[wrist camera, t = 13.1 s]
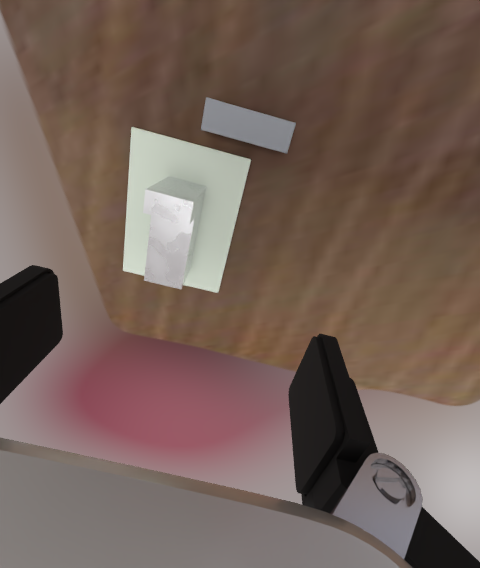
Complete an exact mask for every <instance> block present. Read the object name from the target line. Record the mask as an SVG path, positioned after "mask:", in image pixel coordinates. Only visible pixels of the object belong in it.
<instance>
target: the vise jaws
mask: <svg viewBox="0 0 480 568" xmlns="http://www.w3.org/2000/svg"><path fill="white" fill-rule="evenodd" d="M295 125H296V123H294V122H290V121H287V120H283V119H280V118H276V117H273V116H270V115H266V114H263V113H259V112H256V111H252V110H249V109H245V108H242V107H238V106H235V105H231V104H228V103H225V102H221V101H218V100H214V99H211V98H207V97H206V101H205V108H204V114H203V120H202V126H201V130H204V131H208V132H211V133H215V134H219V135H222V136H226V137H229V138H233V139H237V140H240V141H244V142H247V143H251V144H254V145H258V146H262V147H265V148H269V149H272V150H276V151H279V152H283V153H287V152H288V148H289V145H290V142H291V138H292V135H293V131H294V128H295Z"/></svg>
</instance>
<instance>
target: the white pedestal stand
mask: <svg viewBox="0 0 480 568" xmlns="http://www.w3.org/2000/svg"><path fill="white" fill-rule="evenodd" d="M205 191H206V186H203V185H200V184H196V183H192V182H189V181H185V180H181V179H178V178H174V177H170V176H168V177H166V178H165V179H163V180H161V181H159V182H157V183H156V184H154V185H152V186H150V187H148V188H147V189H145V197H144V208H143V213H145V214H149V215H151V221H150V230H149V239H148V248H147V257H146V266H145V276H144V281H149V282H153V283H157V284H161V285H165V286H169V287H174V288H178V289H182V287H183V285H184V283H185V280H186V278H187V276H188V274H189V271H190V269H191V264H192V259H193V254H194V248H195V243H196V238H197V233H198V228H199V223H200V217H201V212H202V207H203V202H204V197H205Z"/></svg>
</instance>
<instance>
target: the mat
mask: <svg viewBox="0 0 480 568" xmlns="http://www.w3.org/2000/svg"><path fill="white" fill-rule="evenodd" d="M250 162H251V159H249V158H245V157H241V156H238V155H234V154H230V153H227V152H223V151H219V150H216V149H212V148H208V147H205V146H201V145H198V144H194V143H190V142H187V141H183V140H179V139H176V138H172V137H168V136H165V135H161V134H157V133H154V132H150V131H147V130H143V129H139V128H136V127H132V128H131V145H130V161H129V178H128V195H127V211H126V228H125V244H124V261H123V271H126V272H131V273H135V274H139V275H143V276H145V266H146V257H147V248H148V239H149V230H150V221H151V215H149V214H145V213H143V208H144V197H145V189H147V188H148V187H150V186H152V185H154V184H156V183H157V182H159V181H161V180H163V179H165V178H166V177H168V176H170V177H174V178H178V179H181V180H185V181H189V182H192V183H196V184H200V185H203V186H206V191H205V197H204V202H203V207H202V212H201V217H200V223H199V228H198V233H197V238H196V243H195V248H194V254H193V259H192V264H191V269H190V271H189V274H188V276H187V278H186V280H185V283H184V285H186V286H190V287H195V288H199V289H203V290H208V291H212V292H216V293H218V292H219V288H220V284H221V280H222V275H223V271H224V267H225V263H226V259H227V255H228V251H229V247H230V243H231V239H232V235H233V231H234V227H235V223H236V219H237V215H238V210H239V206H240V202H241V198H242V194H243V190H244V186H245V182H246V178H247V174H248V170H249V166H250Z"/></svg>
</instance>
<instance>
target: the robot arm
mask: <svg viewBox="0 0 480 568" xmlns="http://www.w3.org/2000/svg"><path fill="white" fill-rule="evenodd" d="M62 335H63V331H62V320H61V309H60V298H59V287H58V278H57V276H56V275H55V274H54V273H53V271H52V270H51V269H48V268H43V267H40V266H34V265H32V266H29V267H28V268H26V269H24V270H23V271H21V272H19V273H17V274H16V275H14V276H13V277H11V278H9V279H7V280H6V281H4V282H2V283H0V404H1V403H2V402H3V400H4V399H5V398H6V397H7V396H8V395H9V394H10V393H11V392H12V391H13V390H14V389H15V388H16V387H17V386H18V385H19V384H20V383H21V382H22V381H23V380H24V378H25V377H27V376H28V374H29V373H30V372H31V371H32V370H33V369H34V368H35V367H36V366H37V365H38V364H39V363H40V362H41V361H42V360H43V359H44V358H45V357H46V356H47V355H48V354H49V353H50V352H51V350H52V349H53V348H54V347H55V346H56V345H57V344H58V343H59V342H60V340H61V338H62ZM289 407H290V419H291V430H292V443H293V456H294V469H295V481H296V490H297V492H298V493H301V494H302V504H303V505H300V504H298V503H294V502H290V501H285V500H281V499H277V498H273V497H268V496H264V495H260V494H256V493H252V492H248V491H244V490H239V489H235V488H230V487H226V486H221V485H217V484H212V483H208V482H203V481H199V480H194V479H190V478H185V477H181V476H176V475H172V474H167V473H163V472H158V471H154V470H148V469H144V468H140V467H135V466H130V465H125V464H121V463H117V462H112V461H107V460H103V459H98V458H93V457H89V456H84V455H80V454H75V453H70V452H65V451H61V450H56V449H51V448H47V447H42V446H37V445H33V444H28V443H23V442H18V441H14V440H9V439H4V438H0V568H480V562H479V561H478V560H477V559H476V558H475V557H474V556H473V555H472V554H471V553H470V552H469V551H467V550H466V549H465V548H464V547H463V546H462V545H461V544H460V543H459V542H458V541H457V540H456V539H455V538H454V537H453V536H452V535H451V534H450V533H449V532H448V531H447V530H446V529H444V528H443V527H442V526H441V525H440V524H439V523H438V522H437V521H436V520H435V519H434V518H433V517H432V516H431V515H430V514H429V513H428V512H427V511H426V510H425V509H424V508H423V507H422V494H421V490H420V488H419V486H418V484H417V482H416V480H415V479H414V477H413V476H412V474H411V473H410V472H409V470H408V469H407V468H406V467H405V466H404V465H403V464H402V463H400V462H399V461H397V460H396V459H395V458H393V457H391V456H389V455H386V454H382V453H378V450H377V447H376V444H375V441H374V438H373V435H372V433H371V429H370V427H369V424H368V421H367V418H366V415H365V412H364V409H363V406H362V403H361V400H360V397H359V394H358V391H357V389H356V386H355V383H354V381H353V380H352V379H351V378H349V375H348V372H347V369H346V366H345V363H344V360H343V357H342V354H341V350H340V347H339V344H338V341H337V339H336V338H335V337H332V336H328V335H324V334H319V335H318V336H317V337H315V336H314V337H313V338H312V339H311V341H310V344H309V346H308V348H307V350H306V352H305V355H304V357H303V359H302V361H301V363H300V365H299V368H298V370H297V372H296V374H295V377H294V379H293V381H292V383H291V385H290V388H289Z"/></svg>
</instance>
